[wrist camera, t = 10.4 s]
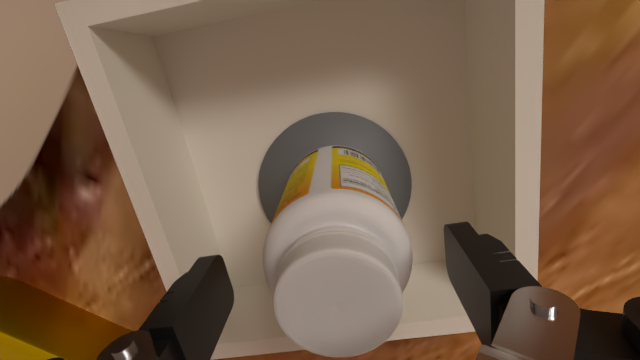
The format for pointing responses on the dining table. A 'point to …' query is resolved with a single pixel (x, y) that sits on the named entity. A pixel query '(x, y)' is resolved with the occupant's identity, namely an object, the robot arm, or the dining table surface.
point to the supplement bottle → (337, 255)
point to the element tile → (49, 326)
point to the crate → (317, 128)
